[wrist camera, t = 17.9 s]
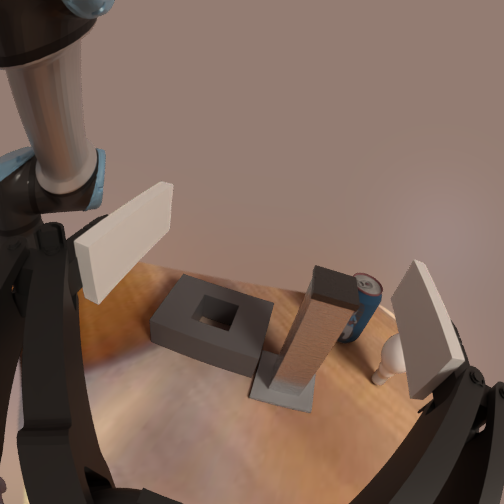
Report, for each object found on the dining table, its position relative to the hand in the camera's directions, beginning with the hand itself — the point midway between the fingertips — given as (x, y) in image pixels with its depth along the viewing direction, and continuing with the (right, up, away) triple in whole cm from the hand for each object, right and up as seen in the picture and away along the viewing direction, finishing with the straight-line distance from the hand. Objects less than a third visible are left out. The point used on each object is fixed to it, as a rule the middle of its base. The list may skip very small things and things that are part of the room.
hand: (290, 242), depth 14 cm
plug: (+3, -19, +24) cm, 31 cm away
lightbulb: (+19, -22, +26) cm, 40 cm away
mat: (+3, -20, +24) cm, 31 cm away
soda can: (+15, -16, +36) cm, 42 cm away
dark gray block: (-8, -13, +30) cm, 34 cm away
